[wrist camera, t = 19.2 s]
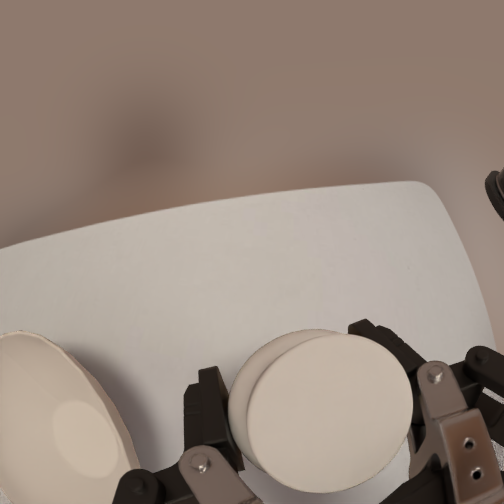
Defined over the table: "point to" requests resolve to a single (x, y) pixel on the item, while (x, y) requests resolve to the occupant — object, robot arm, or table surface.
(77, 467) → the bowl
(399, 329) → the table surface
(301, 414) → the supplement bottle
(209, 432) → the robot arm
